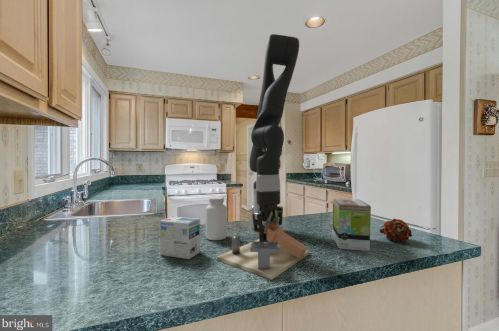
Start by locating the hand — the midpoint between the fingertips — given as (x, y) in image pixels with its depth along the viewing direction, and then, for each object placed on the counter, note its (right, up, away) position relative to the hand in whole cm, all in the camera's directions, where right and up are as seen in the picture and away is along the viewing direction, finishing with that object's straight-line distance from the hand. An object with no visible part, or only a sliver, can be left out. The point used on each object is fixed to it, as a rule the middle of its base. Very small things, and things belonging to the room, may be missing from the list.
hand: (269, 242), depth 77 cm
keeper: (-2, -2, -12) cm, 13 cm away
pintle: (-10, -3, -4) cm, 11 cm away
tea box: (+29, -3, +9) cm, 30 cm away
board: (-2, -3, -4) cm, 5 cm away
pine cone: (+46, -3, +11) cm, 48 cm away
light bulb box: (-28, -3, -1) cm, 28 cm away
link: (+3, 0, -3) cm, 4 cm away
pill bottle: (-19, -3, +15) cm, 24 cm away
